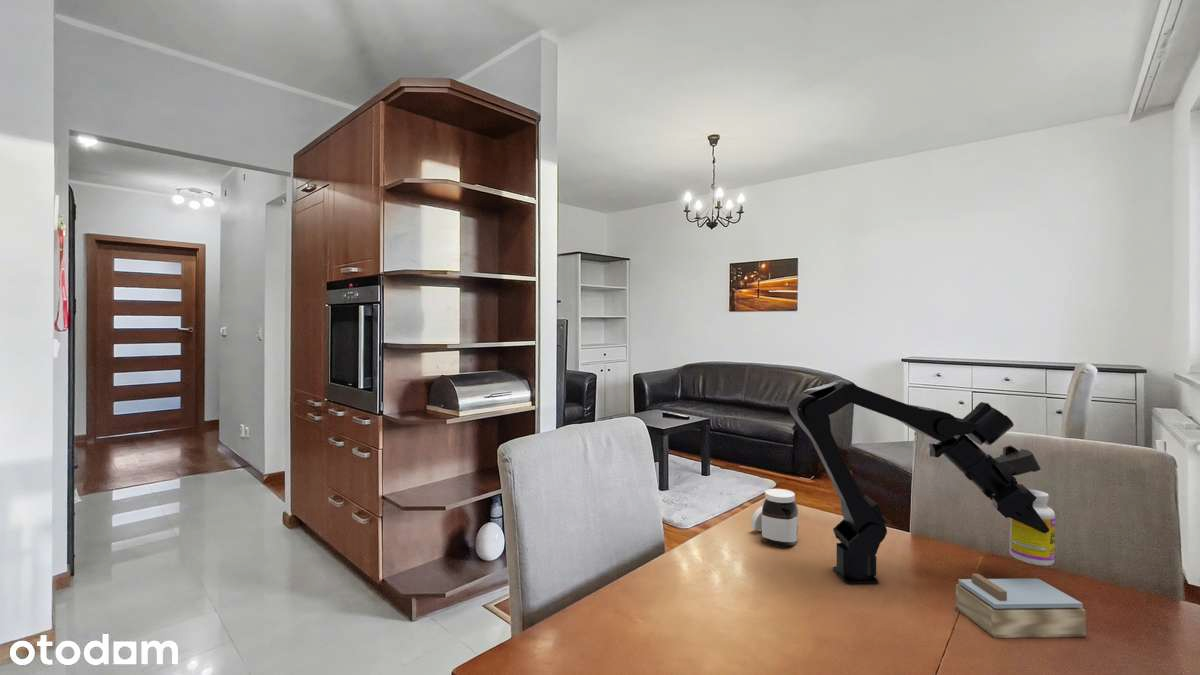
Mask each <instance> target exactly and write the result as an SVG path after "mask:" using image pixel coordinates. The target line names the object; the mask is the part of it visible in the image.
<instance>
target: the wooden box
mask: <svg viewBox="0 0 1200 675" xmlns="http://www.w3.org/2000/svg"><path fill="white" fill-rule="evenodd" d="M955 609H956V610H958V612H960V613H961V614H962V615H964V616H965V617H967V618H968V619H969V620H970V621H971V622H973V623H974V624H975V625H977V626H978V627H979V628H981V629H982V630H983V631H985V632H986V634H989V635H990V636H991V637H992V638H994V639H1003V638H1004V639H1013V638H1014V639H1015V638H1019V639H1020V638H1022V639H1023V638H1025V639H1026V638H1029V639H1031V638H1085V637H1087V636H1086V635H1087V634H1086V631H1087V630H1086V625H1087V624H1086V623H1087V622H1086V619H1087V618H1086V617H1087V616H1086V613H1087V612H1086V611H1087V610H1086V609H1085V608H1005V609H995V608H993V607H992V606H991V605H989V604H988V603H986V602H985V601H983V600H982V599H980V598H979V597H978V596H976V595H975V594H973V593H972V592H970V591H969V590H967V589H966V588H965V587H963V586H962V585H960V584H959V583H957V584H955Z"/></svg>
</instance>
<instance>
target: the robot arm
mask: <svg viewBox="0 0 1200 675" xmlns="http://www.w3.org/2000/svg"><path fill="white" fill-rule="evenodd" d="M850 404H852V405H853V404H854V405H855V406H858V407H862V408H865V409H867V410H869V411H871V412H872V411H873V412H875V413H878V414H881V415H883V416H886V417H889V418H892V419H894V420H896V421H898V422H900V423H902V424H903V425H904V426H907V427H908V428H910V429H912V430H913V431H916V433H919V434H920V435H923V436H925V437H928V438H931V439H933V440H936V441H939V442H937V443H928V446H929V452H928V453H929V457H930V458H936V459H938V458H940V456H942V455H943V456H944V457H945V458H946V459H947V460H948V461H950V462H951V464H952V465H954V466H955V468H957V469H958V471H960V472H961V473H962V474H963V475H964V477H966V478H967V479H968V480H969V481H971V483H973V484H974V485H975V486H976V487H977V488H978V490H980V491H981V492H982V494H984V495H985V496H986V498H989V500H991V501H992V506H993V507H994V508H995V510H997V511H998V512H999V513H1000V514H1001V515H1002V516H1003V517H1004V518H1005V519H1007V518H1009V519H1010V518H1012V519H1014V520H1016V521H1018V522H1021V523H1023V524H1025V525H1027V526H1029V527H1032V528H1034V529H1036V530H1038V531H1040V532H1042V533H1047V532H1048V531H1049V528H1048V527H1047V525H1046V524H1045V523H1044V521H1043V520H1042V519H1041V517H1040V516H1039V515H1038V513H1037V512H1036V510H1035V509H1034V508H1033V501H1035V500H1036V498H1037V497H1036V496H1034V495H1033V494H1032V493H1031V492H1030V491H1029V490H1028V489H1029V488H1027V487H1026V486H1025V485H1023V484H1020V483H1018V481H1017V478H1016V477H1015V476H1019V475H1023V474H1027V473H1030V472H1032V473H1035V472H1038V471H1041V469H1042V467H1041V466H1040V464H1039V463H1038V460H1037V458H1036V457H1035V455H1034V454H1033V452H1032V451H1030V450H1029V449H1024V448H1021V449H1020V450H1018V449H1017V448H1016V447H1015V446H1013V445H1007V446H1003V447H1002V454H1000V455H999V456H998V457H993V456H992V455H991V454H989V453H988V454H987V453H986V452H985V451H984V450H983V449H982V448H980V447H979V446H983V444H985V445H987V446H992V445H993V444H994V443H995V442H996V441H998V440H999V439H1000V438H1001V437H1002V436H1004V435H1005V434H1006V433H1007V432H1008V431H1010V430H1011V429H1012V428H1014V423H1013V420H1012V419H1010V417H1009V416H1008V415H1006V414H1004V413H1002V412H1001V411H1000V410H998V409H997V408H994V407H992V406H991V404H990V403H987V402H983V401H980V402H979V403H978V404H976V406H975V407H974V408H973V410H971V411H970V412H968V414H967V415H966V416H964V417H963V418H960V417H956V416H954V415H953V414H951V413H949V412H946V411H943V410H942V411H941V410H939V409H934V408H931V407H925V406H919V405H913V404H907V403H904V402H902V401H899V400H896V399H893V398H891V397H888V396H885V395H882V394H879V393H877V392H874V391H872V390H868V389H865V388H863V387H861V386H858V385H857V384H855V383H852V382H849V381H845V380H843V381H838V382H837V383H835V384H832V385H830V386H827V387H823V388H820V389H817V390H813V391H811V392H809V393H804V392H803V393H802V392H801V393H797V394H795V395H794V396H793V397H792V398H791V399H790V401H789V403H788V410H789V413H790V415H791V416H792V417H793V418H794V420H795V422H796V423H797V424H798V425H799V427H800V428H801V430H803V432H805V434H806V435H807V437H808V438H809V439H810V441H811V442H812V445H813V447H814V449H815V451H816V452H817V455H818V457H819V458H820V461H821V463H822V465H823V467H824V469H825V471H826V473H827V475H828V477H829V479H830V480H831V483H832V485H833V487H834V489H835V491H836V493H837V495H838V497H839V499H840V500H839V501H840V508H841V513H842V514H841V515H842V517H843V519H842V520H840V522H839V523H838V524H837V525H836V526H834V527H833V529H832V530H833V534H834V537H835V539H837V540H838V541H839V542H837V543H836V566H832V570H833V572H835V573H836V574H837V575H838V577H840V578H841V579H842V581H844V582H845V584H848V585H849V584H851V585H852V584H853V585H854V584H879V581H880V580H879V579H878V578H877V556H876V555H877V552H878V550H879V547H880V545H881V543H882V542H883V541H884V540H885V538H886V536H887V535H888V530H887V526H886V525H887V524H889V522H888V521H887V519H885V517H884V516H883V514H882V510H881V508H880V506H879V504H878V503H877V502H876V501H874V500H873V499H871V498H870V497H869V496H867V495H866V494H865V495H864V496H863V494H862V492H861V490H860V488H859V486H858V484H857V482H856V480H855V478H854V476H853V474H852V472H851V470H850V468H849V466H848V464H847V462H846V460H845V458H844V456H843V454H842V452H841V450H840V449H839V448H840V447H839V446H838V444H837V442H836V440H835V437H834V436H833V434H832V423H831V422H832V421H831V419H830V415H832V414H834V413H836V412H838V411H840V410H841V409H843V408H844V407H845V406H847V405H850ZM977 444H978V445H979V446H978V445H977Z"/></svg>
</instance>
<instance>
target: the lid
mask: <svg viewBox="0 0 1200 675" xmlns="http://www.w3.org/2000/svg"><path fill="white" fill-rule="evenodd" d="M957 582H958V583H957V584H960V585H962V586H963V587H965V588H966V589H967V590H969V591H970V592H972V593H973V594H975V595H976V596H978V597H979V598H980V599H982V600H983V601H985V602H986V603H988V604H989V605H991V606H992V607H993V608H995V609H1005V608H1083V606H1084V605H1083V602H1081V601H1079V600H1077V599H1076V598H1074V597H1072V596H1070V595H1069V594H1067V593H1065V592H1063V591H1061V590H1060V589H1057V588H1056V587H1054V586H1052V585H1050V584H1048V583H1046V582H1045V581H1043V580H1042V579H1039V578H986V577H984V576H983V575H982V574H980V573H971V578H963V579H962V578H961V579H960V578H958V580H957ZM1083 609H1084V608H1083Z"/></svg>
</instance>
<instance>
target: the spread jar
mask: <svg viewBox="0 0 1200 675" xmlns="http://www.w3.org/2000/svg"><path fill="white" fill-rule="evenodd" d="M764 498H765V499H764V501H763V503H762V505H761V506H760V507H759V508H757V509H756V510H755V512H754V513H753V515H752V516H751V519H750V527H751V528H752V529H754V531H755V532H758V530H761V529H762V531H761V537H762V539H763V541H765V542H768V543H767V544H769V543H771V544H773V545H772V546H775V545H778V546H777V547H780V546H790V547H792V546H796V544H797V541H798V537H799V509H798V505H797V503H796V493H795V492H793V491H792V490H789V489H784V488H783V489H782V488H769V489H766V490H765V491H764ZM771 544H770V545H771Z"/></svg>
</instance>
